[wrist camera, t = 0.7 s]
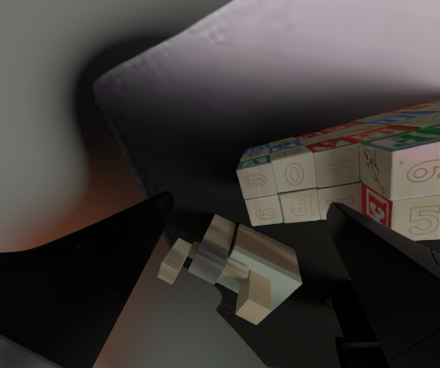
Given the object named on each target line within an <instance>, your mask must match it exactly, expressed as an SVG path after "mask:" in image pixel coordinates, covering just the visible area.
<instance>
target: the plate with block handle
mask: <svg viewBox="0 0 440 368" xmlns="http://www.w3.org/2000/svg"><path fill="white" fill-rule="evenodd" d="M228 258H230V259H232V260H234V261H236V262H238V263H240V264H242V265H244V266H246V267H248V268H249V273H248V277H247V278H246V279H245V281H244V282H243V283H242V284H241V283H239V282H237V281H236V280H234V279H232V278H230V277H228V276H226V275H224V274H222V273H221V275H220V276H219V278H218V279H217V281H216V282H217V283H219V284H221V285H223V286H225V287H227V288H229V289H231V290H233V291H235V292H237V293H238V299H237V306H236V313H235V314H236V315H238V316H240V317H242V318H244V319H246V320H248V321H250V322H252V323H253V324H255V325H257V324H258V323H259V322H260V321H261V320H263V319H264V318H265V317H266V316H267V315H268V314H269V313H270V312H271V311H273V310H274V309H275V308H276V307H277V306H278V305H279V304H281V303H282V302H283V301H284V300H285V299H286V298H287V297H288V296H289V295H290V294H292V293H293V292H294V291H295V290H296V289H297V288H298V287H299V286H300V285H301V284H302V280H301V277H300V276H298V275H296V274H294V273H292V272H290V271H288V270H286V269H284V268H282V267H280V266H278V265H276V264H274V263H272V262H269V261H267V260H265V259H263V258H261V257H259V256H257V255H255V254H253V253H251V252H249V251H247V250H245V249H243V248H241V247H239V246H237V245H235V246H234V247H233V249H232V251H231V252H230V254H229V256H228Z"/></svg>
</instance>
